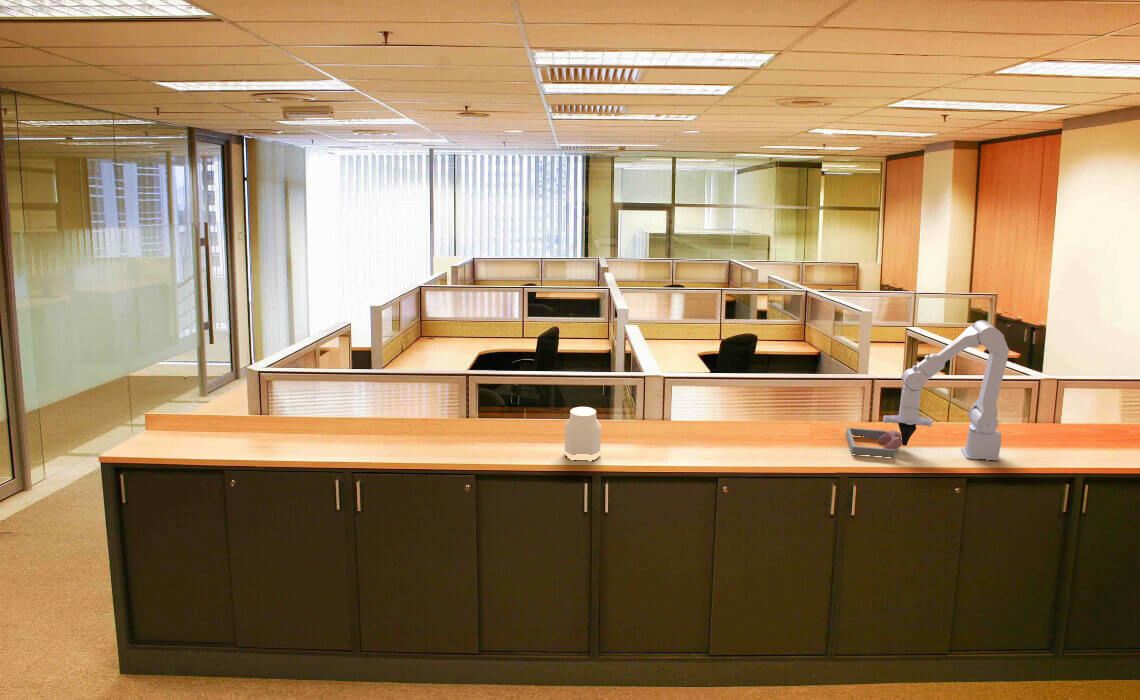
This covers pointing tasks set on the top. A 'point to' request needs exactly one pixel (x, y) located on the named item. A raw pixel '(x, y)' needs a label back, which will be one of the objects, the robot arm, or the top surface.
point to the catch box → (867, 450)
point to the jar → (582, 432)
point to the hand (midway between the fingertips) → (904, 444)
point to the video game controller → (891, 439)
